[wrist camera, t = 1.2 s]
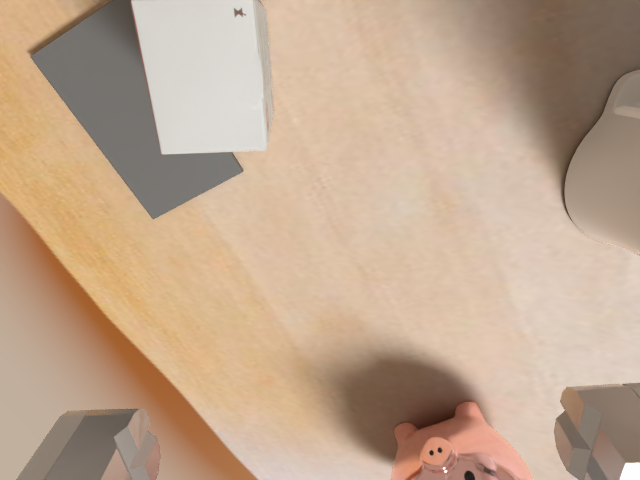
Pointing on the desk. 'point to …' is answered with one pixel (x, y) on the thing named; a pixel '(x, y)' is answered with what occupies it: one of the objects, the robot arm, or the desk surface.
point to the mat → (125, 110)
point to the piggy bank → (456, 450)
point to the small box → (206, 73)
